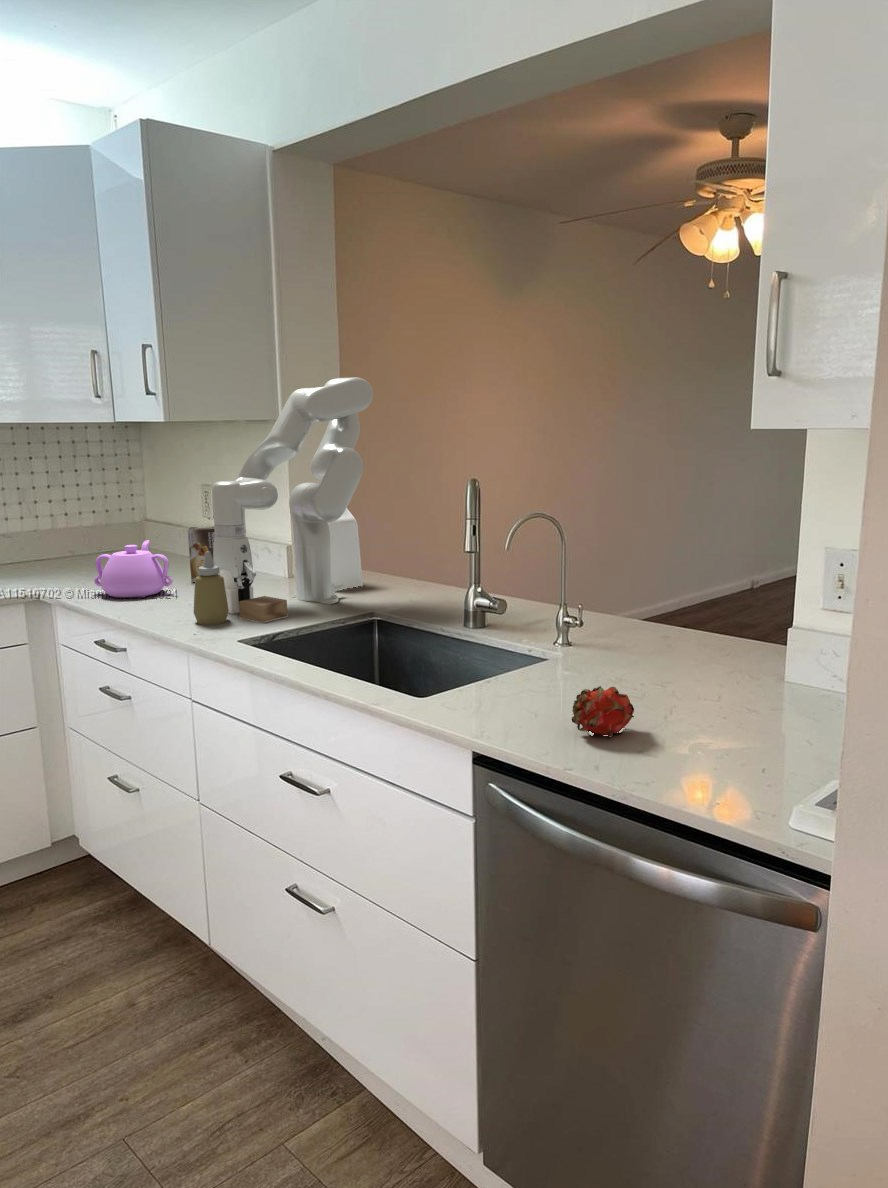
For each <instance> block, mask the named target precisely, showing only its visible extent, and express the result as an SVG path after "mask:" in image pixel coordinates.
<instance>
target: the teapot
mask: <svg viewBox="0 0 888 1188" xmlns="http://www.w3.org/2000/svg"><path fill="white" fill-rule="evenodd" d="M149 545H150V540H149V539H146V540H144V541H143V542H142V544H141V548H140V550H139V549H138V545H137V544H128V545H124V550H122V551H116V552H113V553H112V554H108V553H104V554H100V555H99V556H98V557H97V558H96V560H95V564H94V565H95V568H96V571H97V574H98V575H96V577H94V580H93V581H94V584H95V585H96V586H98V587H101V589H102V590H103V591H104V592H105V593H106V594H107V595H108V596H110V597H114V598H145V597H144V596H146V597H148V596H152V595H155V594H158V593H160V592H161V590H162V589H164V587H170V586H171V585H173V582H174V579H173V578H172V577H171V576H169V575H168V572H169V569H170V561H169V559H168V558H167V556H165V555H164V554H160V553H156V554H153V553H152V552H151V551H149V549H150V546H149ZM102 559H107V562H106V564H105V566H104V567H103V568H102V564H101V563H102ZM158 559H161V560H162V561H163V567H162V566H161V564H160V562H159V561H158ZM99 579H100V581H99ZM167 580H168V581H167Z"/></svg>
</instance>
